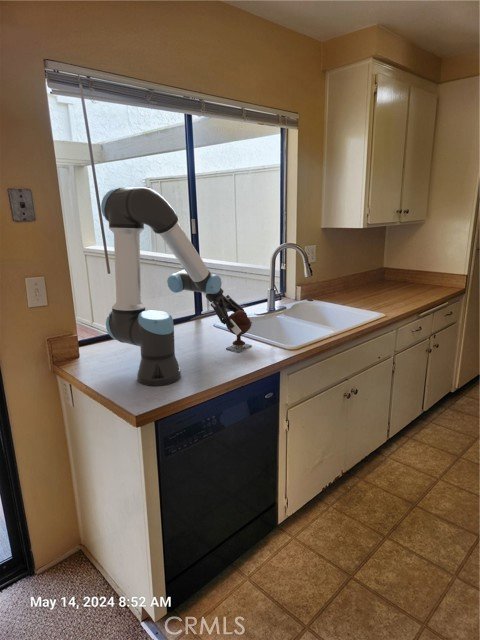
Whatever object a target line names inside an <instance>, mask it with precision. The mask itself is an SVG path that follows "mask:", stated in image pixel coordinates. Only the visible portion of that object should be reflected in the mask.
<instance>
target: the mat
mask: <svg viewBox="0 0 480 640" xmlns="http://www.w3.org/2000/svg"><path fill="white" fill-rule="evenodd" d="M252 346H253V345H252V344H248V343H245V345H242V346H236V345H233V344H232V345H231V346H230V345H229V346H227V347H225V350H227V351H231V352H235V353H240V352H242V351H245V350H248V349H249V348H252Z"/></svg>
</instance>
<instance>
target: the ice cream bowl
mask: <svg viewBox="0 0 480 640" xmlns="http://www.w3.org/2000/svg"><path fill="white" fill-rule="evenodd" d="M228 316H229V318H230V320H231V319H232V320H233V321H234V323H235V324H236V325H237V326H238V327H239V328H240V330H241V332H240V333H239V334H238V335H236V334H235V333H234V332H233V330H232V329H231V328H230V327H229V326H228V325H227V323H226V324H225V326H226V328H227V330H228V331H229V332H230V333H232V335H235V336H236V339H235V340H234V341H232V345H236V346H242V345H245V344H246V342H245V341H243V340H242V337H241V336H242V335H245V334H246V333H247V332H248V331H249V330H250V329H251V327H252V325H253V322H252V321H251V319H250V318H249V317H248V314H247V312H246V311H245V310H244V311H243V310H238V311H236V313H234V312H232V313H231V314H229V315H228Z"/></svg>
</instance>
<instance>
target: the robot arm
mask: <svg viewBox="0 0 480 640" xmlns="http://www.w3.org/2000/svg"><path fill="white" fill-rule="evenodd" d="M100 209H101V210H100V211H101V214H102V216H103V217H104V219H105V220H106V221H107V222H108V228H109V230H110V231H111V232H112V233H113V238H114V239H113V247H114V272H115V275H114V277H115V279H114V280H115V303H113V305H112V306H111V311H110V312H109V314H108V316H107V317H106V320H105V328H106V332H107V333H108V335H109V336H110V337H111V338H112V339H113V340H115V341H117V342H120V343H123V344H127V345H128V344H129V345H132V346H136V347H140V356H141V357H140V363H139V365H138V366H139V367H138V369H137V374H136V375H137V381H138V382H139V384H142V385H145V386H150V387H151V386H152V387H159V386H166V385H171V384H174V383H176V382H177V381H178V380H180V379H181V376H182V370H181V368H180V366H179V365H180V364H179V362H178V360H177V358H176V352H175V351H176V350H175V325H174V319H173V316H172V315H171V314H170V313H168V312H166V311H163V310H154V309H150V310H146V305H145V304H144V303H143V302H142V292H141V291H142V287H141V245H140V244H141V240H140V239H141V237H140V234H142V232H143V231H144V230H145V226H148V227H150V228H151V229H152V231H153V232H154V233H155V234H157V235H159V236H160V237H161V238H162V240H163V241H164V243H165V244H166V245H167V247H168V248H169V250H170V251H171V253H172V254H173V255H174V257H175V258H176V259H177V261H178V263H179V264H180V265H181V266H182V270H180V271H178V272H174V273H172V274H170V275H169V276H168V278H167V280H166V281H167V286H168V289H169V290H170V291H171V292H173V293H175V294H176V293H181V292H182V291H190V292H197V293H201V294H202V295H204V296H205V298H206V299H207V300H208V302H209V303H210V305H209V306H210V307H211V308H213V310H214V312H215V314H216V316H217V317H218V319H219V321H220V322H221V324H223V325H226V323H227V325H228V326H229V327H230V328H231V329H232V330H233V332H234V333H235V334H236V335H238V334H239V333H240V332H241V330H240V328H239V327H238V326H237V325H236V324H235V323H234V321H233V320H232V319H231V320H230V318H229V316H230V315H229V314H228V311H227V309H228V310H230V311H231V312H232V313H236V311H238V310H243V311H245V309H244V308H243V307H242V306H241V305H239V303H237V302H236V301H235V300H233V298H232V297H231V296H230V295H229V294H227V295H226V296H225V295H223V293H224V290H223V288H222V282H223V281H222V278H221V276H219V275H218V274H215V273H211V271H210V269H209V268H208V267H207V265H206V264H205V262H204V260H203V259H202V257H201V255H200V254H199V252H198V251H197V250H196V248H195V247H194V244H193V243H192V241H191V240H190V238H189V237H188V235H187V234H186V232H185V231H184V229H183V227H182V226H181V225H180V223H179V215H177V212H176V211H175V209H174V208H173V207H172V206H171V205H170V203H169V202H168V201H167V200H166V199H165V198H164V197H163V196H162V195H161V194H159V193H158V192H157V191H156V190H154V189H152V188H149V187H143V186H140V187H139V186H138V187H118V188H113V189H110V190H109V191H107V192H106V194H104V196H103V197H102V200H101V204H100ZM235 334H234V335H235ZM236 335H235V336H236Z"/></svg>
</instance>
